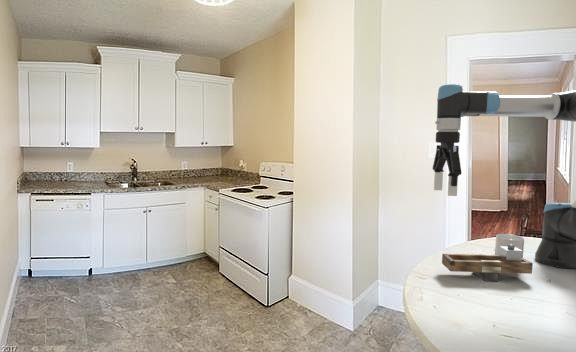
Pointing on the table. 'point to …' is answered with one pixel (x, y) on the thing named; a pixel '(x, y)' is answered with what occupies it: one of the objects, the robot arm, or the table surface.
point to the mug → (508, 242)
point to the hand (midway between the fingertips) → (444, 192)
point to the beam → (484, 265)
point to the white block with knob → (510, 254)
